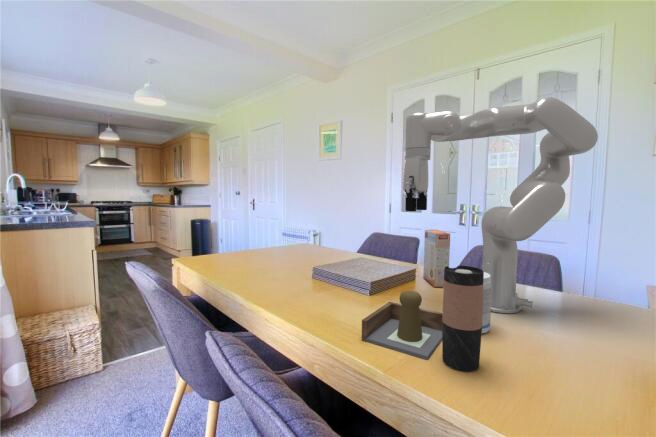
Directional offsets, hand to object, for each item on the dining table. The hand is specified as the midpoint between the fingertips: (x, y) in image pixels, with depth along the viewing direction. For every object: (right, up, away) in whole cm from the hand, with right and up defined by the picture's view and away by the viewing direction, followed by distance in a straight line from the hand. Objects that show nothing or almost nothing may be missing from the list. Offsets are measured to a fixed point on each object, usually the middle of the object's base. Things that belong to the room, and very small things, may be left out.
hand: (416, 210), depth 98 cm
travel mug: (0, -33, -32) cm, 46 cm away
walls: (-8, -32, -20) cm, 39 cm away
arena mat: (-8, -32, -20) cm, 39 cm away
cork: (-8, -31, -22) cm, 39 cm away
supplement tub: (+10, -32, -14) cm, 36 cm away
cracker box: (+16, -29, +28) cm, 43 cm away
